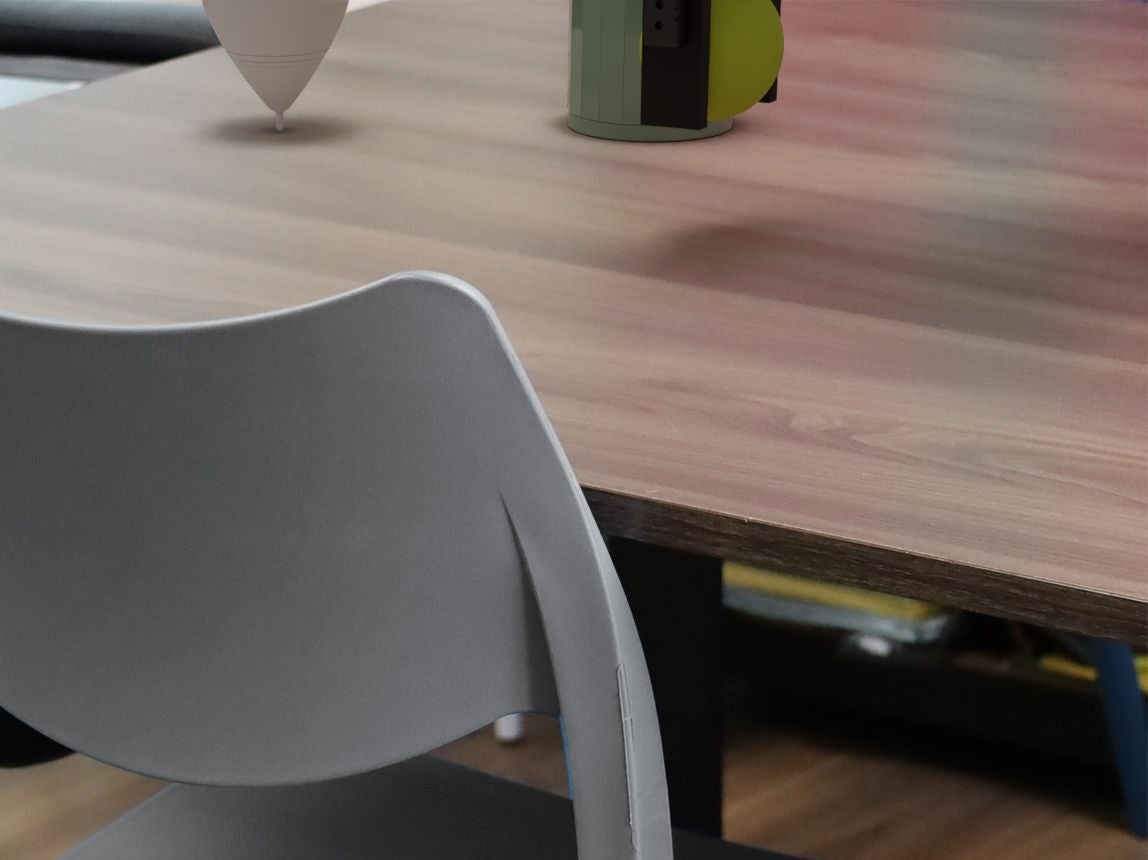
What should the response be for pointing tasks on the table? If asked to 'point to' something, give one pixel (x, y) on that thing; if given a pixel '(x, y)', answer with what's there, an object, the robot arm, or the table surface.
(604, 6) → the green cylinder
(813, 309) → the table surface
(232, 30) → the spinning top
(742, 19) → the ball
